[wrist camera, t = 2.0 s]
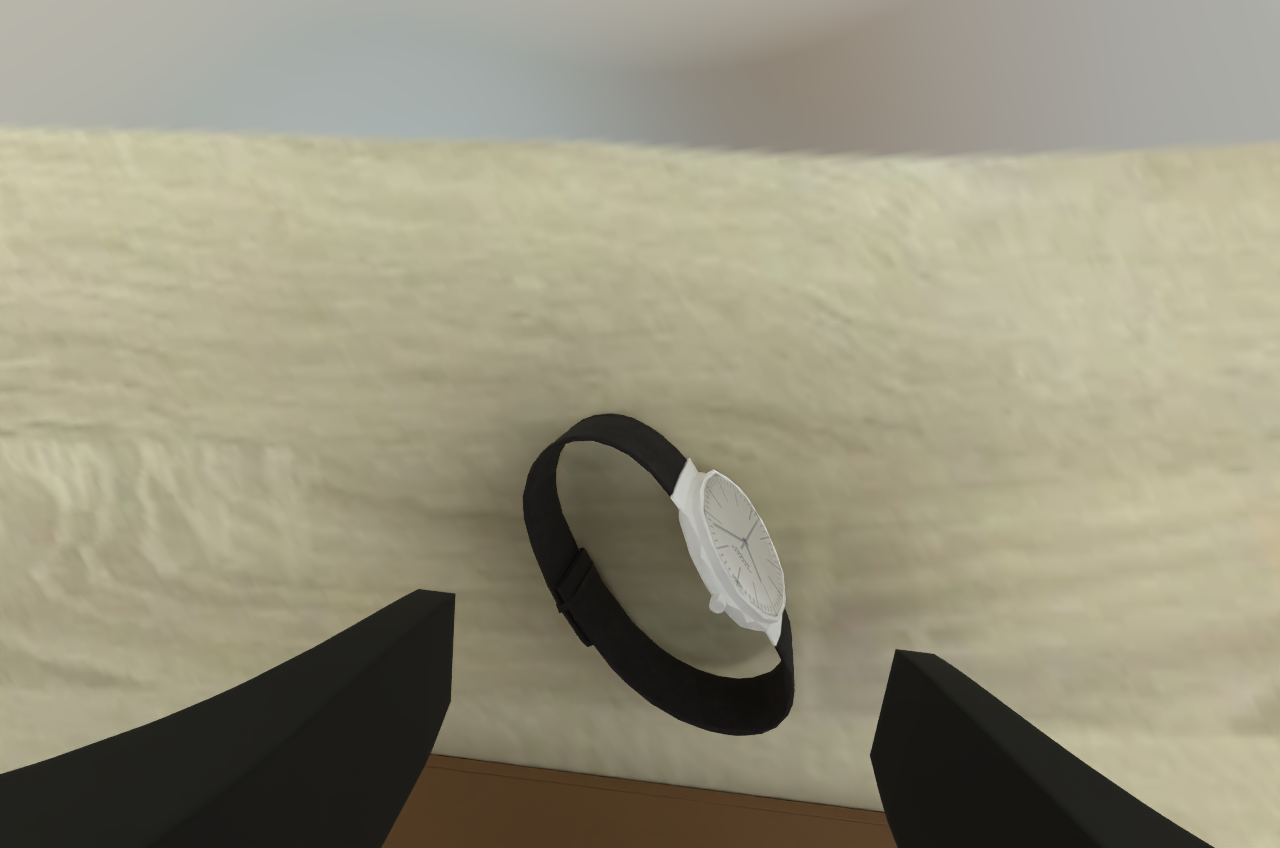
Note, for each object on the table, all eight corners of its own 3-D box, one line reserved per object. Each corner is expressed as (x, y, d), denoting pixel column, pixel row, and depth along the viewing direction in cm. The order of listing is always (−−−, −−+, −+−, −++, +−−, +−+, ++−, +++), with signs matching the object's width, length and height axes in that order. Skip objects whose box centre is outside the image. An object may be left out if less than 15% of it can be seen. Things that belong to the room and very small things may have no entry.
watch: (834, 624, 15) (886, 733, 11) (671, 713, 16) (672, 841, 12) (656, 359, 14) (652, 390, 10) (488, 471, 14) (431, 536, 11)
